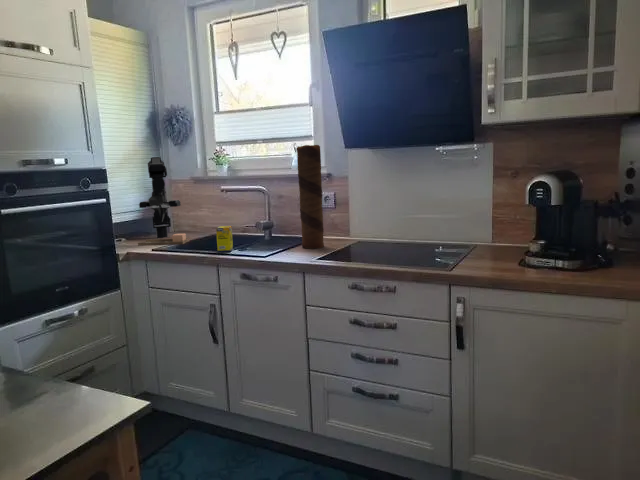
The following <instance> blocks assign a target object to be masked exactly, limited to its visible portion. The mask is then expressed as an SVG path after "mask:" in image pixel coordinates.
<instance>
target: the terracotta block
mask: <svg viewBox="0 0 640 480" xmlns="http://www.w3.org/2000/svg"><path fill="white" fill-rule="evenodd" d="M186 235H187V234H186V233H175V234H172V238H171V239H173V242H179V241H183V240H185V239H186V238H187V236H186Z"/></svg>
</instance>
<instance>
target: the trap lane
mask: <svg viewBox="0 0 640 480" xmlns="http://www.w3.org/2000/svg"><path fill="white" fill-rule="evenodd" d="M190 240H191V239H190V238H189V237H188V238H187V237H186V239H185V240H183V241H179V242H173V238H156V239H154V238H153V239H145V242H137V245H138V247H139V246H163V245H164V246H165V245H167V246H169V245H182V247H185V246H186V245H188V244H189V243H191V241H190Z"/></svg>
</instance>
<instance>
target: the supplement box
mask: <svg viewBox="0 0 640 480" xmlns="http://www.w3.org/2000/svg"><path fill="white" fill-rule="evenodd" d="M215 231H216V234H215V235H216V244H217V245H216V246H217V247H216V248H217V253H231V252H232V251H234V243H233V242H234V241H233V228H232V226H231V225H227V226H223V225H221V226H218V227H216V228H215Z"/></svg>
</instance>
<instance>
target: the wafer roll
mask: <svg viewBox="0 0 640 480" xmlns="http://www.w3.org/2000/svg"><path fill="white" fill-rule="evenodd" d="M296 152H297V153H296V155H297V161H296V162H297V177H298V188H299V189H298V191H299V213H300V215H299V216H300V222H301V240H302V241H301V247H302V248H305V249H320V248H324V246H325V243H324V233H325V232H324V220H323V219H324V215H323V214H324V213H323V185H322V184H323V183H322V159H321V155H322V154H321V146H320V145H319V144H313V145H311V144H305V145H301V146H297V147H296Z"/></svg>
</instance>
